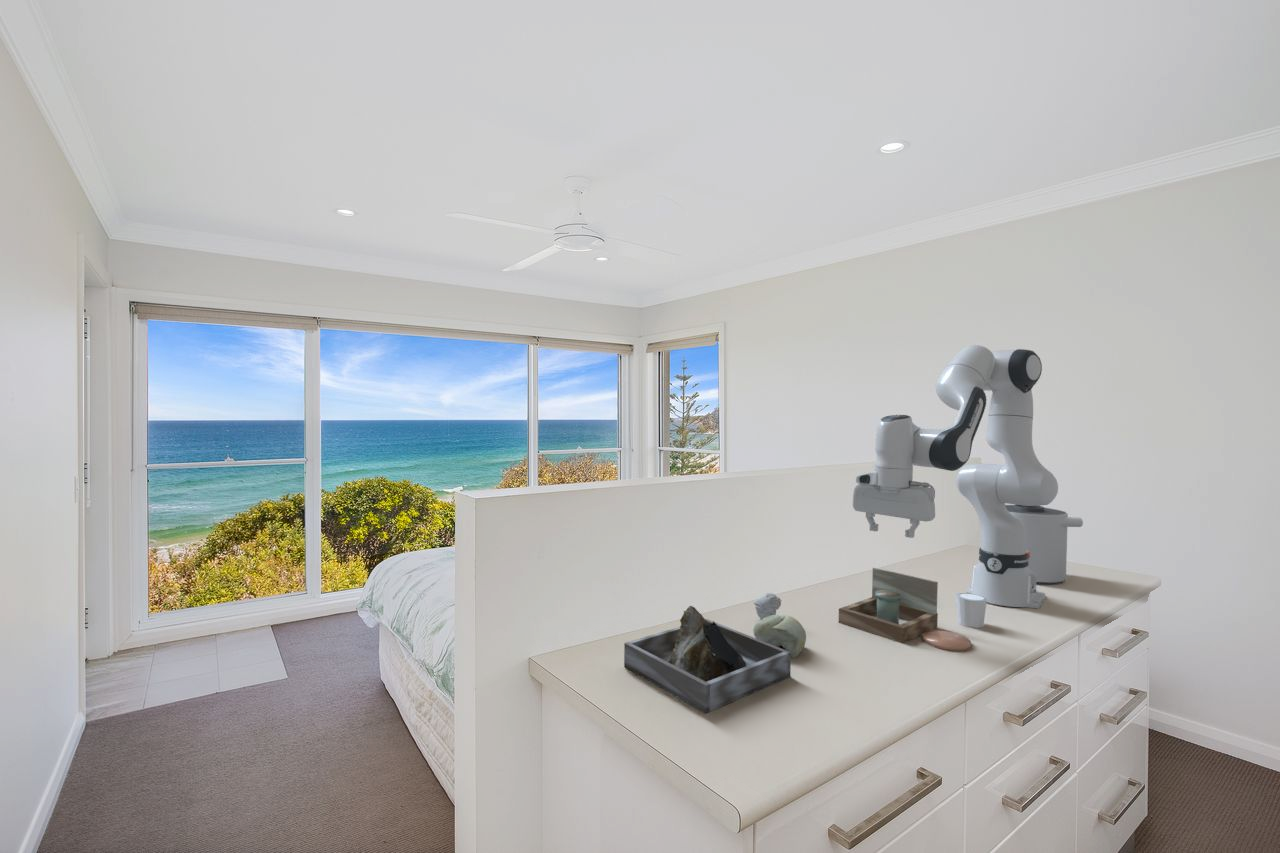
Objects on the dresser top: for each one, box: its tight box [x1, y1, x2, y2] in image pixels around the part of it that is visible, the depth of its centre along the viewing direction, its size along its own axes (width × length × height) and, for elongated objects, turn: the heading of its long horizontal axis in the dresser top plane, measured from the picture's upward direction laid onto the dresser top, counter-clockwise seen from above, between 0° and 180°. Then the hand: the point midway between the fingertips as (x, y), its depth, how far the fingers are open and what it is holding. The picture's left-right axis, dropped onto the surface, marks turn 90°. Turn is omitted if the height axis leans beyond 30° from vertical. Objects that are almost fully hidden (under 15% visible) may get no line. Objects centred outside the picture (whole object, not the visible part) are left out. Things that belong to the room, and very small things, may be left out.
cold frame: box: [838, 567, 939, 644], centre depth 149 cm, size 17×17×12 cm
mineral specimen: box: [668, 605, 746, 682], centre depth 121 cm, size 14×15×17 cm
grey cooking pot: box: [1005, 504, 1084, 585], centre depth 196 cm, size 22×21×23 cm
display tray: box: [623, 618, 792, 714], centre depth 121 cm, size 24×24×5 cm
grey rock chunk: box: [753, 592, 782, 620], centre depth 152 cm, size 6×7×7 cm
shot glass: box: [955, 592, 988, 629], centre depth 151 cm, size 7×7×7 cm
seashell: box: [752, 614, 807, 658], centre depth 134 cm, size 13×8×10 cm
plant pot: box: [875, 590, 901, 624], centre depth 149 cm, size 6×6×8 cm
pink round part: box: [922, 629, 972, 652], centre depth 138 cm, size 10×10×1 cm
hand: (891, 533), depth 149 cm, fingers open, 8 cm apart
